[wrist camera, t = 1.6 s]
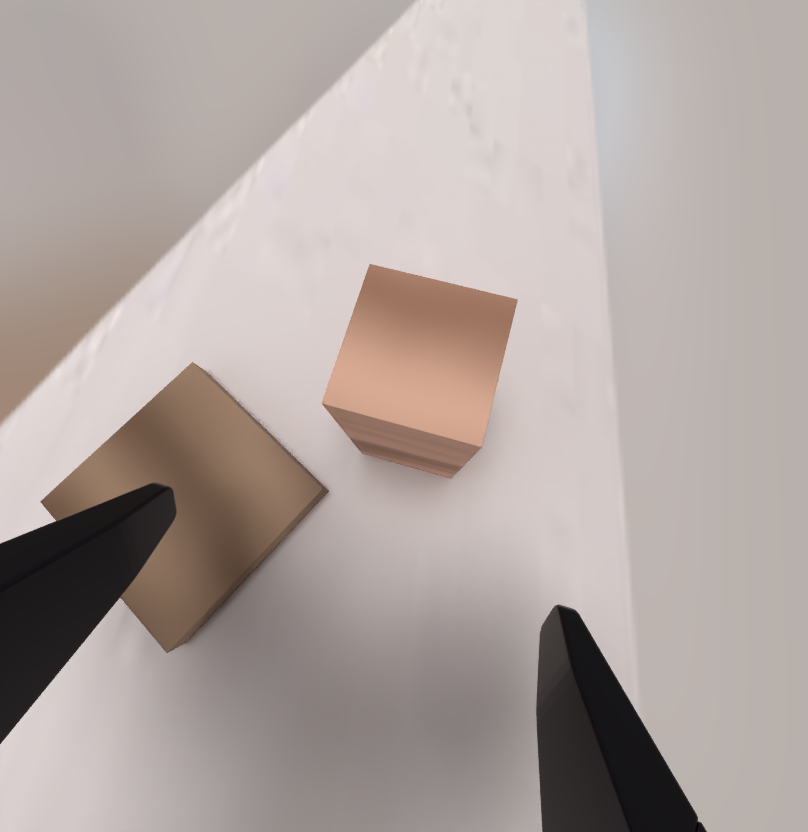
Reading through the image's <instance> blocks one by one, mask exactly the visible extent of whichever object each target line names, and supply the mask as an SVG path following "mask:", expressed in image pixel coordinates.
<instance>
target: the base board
mask: <svg viewBox="0 0 808 832" xmlns="http://www.w3.org/2000/svg"><path fill="white" fill-rule="evenodd" d="M154 482H157V483H161V484H164V485H168V486H170V487H172V489H173V491H174V496H175V502H176V508H177V513H176V517H175V520H174V521H173V523H172V525H171V526H170V528H169V529H168V531H167V532H166V534H165V535H164V537H163V538H162V540H161V541H160V543H159V544H158V546H157V547H156V549H155V550H154V552H153V553H152V555H151V556H150V557H149V559H148V560H147V562H146V563H145V565H144V566H143V568H142V569H141V571H140V572H139V574H138V575H137V577H136V578H135V579H134V581H133V582H132V583H131V584H130V586H129V587H128V588H127V589H126V591H125V592H124V593H123V594H122V596H121V597H120V598H121V599H122V600H123V601H124V602H125V603H126V605H127V606H128V607H129V608H130V609H131V611H132V612H133V613H134V614H135V615H136V617H137V618H138V619H139V620H140V621H141V623H142V624H143V625H144V626H145V627H146V629H147V630H148V631H149V632H150V633H151V635H152V636H153V637H154V638H155V639H156V640H157V642H158V643H159V644H160V645H161V646H162V648H163V649H164V650H165V651H166V652H167V653H168V652H170V651H172V650H174V649H175V648H177V647H179V646H181V645H183V644H184V643H186V642H187V641H188V639H189V638H190V637H191V636H192V635H193V634H194V633H195V632H196V631H197V630H198V629H199V628H200V627H201V626H202V625H203V624H204V623H205V621H206V620H207V619H208V618H209V617H210V616H211V615H212V614H213V613H214V612H215V611H216V610H217V609H218V608H219V607H220V606H221V604H222V603H223V602H224V601H225V600H226V599H227V598H228V597H229V596H230V595H231V594H232V593H233V592H234V591H235V590H236V589H237V588H238V586H239V585H240V584H241V583H242V582H243V581H244V580H245V579H246V578H247V577H248V576H249V575H250V574H251V573H252V572H253V571H254V570H255V568H256V567H257V566H258V565H259V564H260V563H261V562H262V561H263V560H264V559H265V558H266V557H267V556H268V555H269V554H270V553H271V551H272V550H273V549H274V548H275V547H276V546H277V545H278V544H279V543H280V542H281V541H282V540H283V539H284V538H285V537H286V536H287V535H288V533H289V532H290V531H291V530H292V529H293V528H294V527H295V526H296V525H297V524H298V523H299V522H300V521H301V520H302V519H303V518H304V517H305V515H306V514H307V513H308V512H309V511H310V510H311V509H312V508H313V507H314V506H315V505H316V504H317V503H318V502H319V501H320V500H321V499H322V497H323V496H324V495H325V494H326V493H327V492H328V490H327V489H326V488H325V487H324V486H323V485H322V484H321V483H320V482H319V481H318V480H317V479H316V478H315V477H314V476H313V475H312V474H311V473H310V472H309V471H308V470H307V469H306V468H305V467H304V466H303V465H302V464H301V463H300V462H299V461H297V460H296V459H295V458H294V457H293V456H292V455H291V454H290V453H289V452H288V451H287V450H286V449H285V448H284V447H283V446H282V445H281V444H280V443H279V442H278V441H277V440H276V439H275V438H274V437H273V436H272V435H271V434H270V433H269V432H268V431H267V430H266V429H265V428H264V427H263V426H262V425H261V424H259V423H258V422H257V421H256V420H255V419H254V418H253V417H252V416H251V415H250V414H249V413H248V412H247V411H246V410H245V409H244V408H243V407H242V406H241V405H240V404H239V403H238V402H237V401H236V400H235V399H234V398H233V397H232V396H231V395H230V394H229V393H228V392H227V391H226V390H225V389H224V388H223V387H221V386H220V385H219V384H218V383H217V382H216V381H215V380H214V379H213V378H212V377H211V376H210V375H209V374H208V373H207V372H206V371H205V370H203V369H202V368H200V367H199V366H197V365H196V364H195V363H193V362H192V363H191V364H190V365H189V366H188V367H187V368H186V369H184V370H183V371H182V372H181V373H180V374H179V375H178V376H177V377H176V378H175V379H174V380H172V381H171V382H170V383H169V384H168V385H167V386H166V387H165V388H164V389H163V390H162V391H160V392H159V393H158V394H157V395H156V396H155V397H154V398H153V399H152V400H151V401H150V402H148V403H147V404H146V405H145V406H144V407H143V408H142V409H141V410H140V411H139V412H138V413H136V414H135V415H134V416H133V417H132V418H131V419H130V420H129V421H128V422H127V423H126V424H124V425H123V426H122V427H121V428H120V429H119V430H118V431H117V432H116V433H115V434H114V435H112V436H111V437H110V438H109V439H108V440H107V441H106V442H105V443H104V444H103V445H102V446H100V447H99V448H98V449H97V450H96V451H95V452H94V453H93V454H92V455H91V456H90V457H88V458H87V459H86V460H85V461H84V462H83V463H82V464H81V465H80V466H79V467H78V468H76V469H75V470H74V471H73V472H72V473H71V474H70V475H69V476H68V477H67V478H66V479H64V480H63V481H62V482H61V483H60V484H59V485H58V486H57V487H56V488H55V489H54V490H52V491H51V492H50V493H49V494H48V495H47V496H46V497H45V498H44V499H43V500H42V501H40V502H41V503H42V504H43V506H44V507H45V508H46V509H47V510H48V512H49V513H50V514H51V515H52V516H53V517H54V519H55V520H56V521H58V520H60V519H63V518H65V517H68V516H70V515H73V514H75V513H78V512H80V511H83V510H85V509H88V508H90V507H93V506H95V505H98V504H100V503H103V502H105V501H108V500H110V499H113V498H115V497H118V496H120V495H123V494H125V493H127V492H130V491H132V490H135V489H137V488H140V487H142V486H145V485H147V484H150V483H154Z"/></svg>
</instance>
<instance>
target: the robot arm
mask: <svg viewBox="0 0 808 832" xmlns="http://www.w3.org/2000/svg"><path fill="white" fill-rule="evenodd" d="M176 513H177V508H176V502H175V496H174V491H173V489H172V487H170V486H168V485H164V484H161V483H157V482H154V483H150V484H147V485H145V486H142V487H140V488H137V489H135V490H132V491H130V492H127V493H125V494H123V495H120V496H118V497H115V498H113V499H110V500H108V501H105V502H103V503H100V504H98V505H95V506H93V507H90V508H88V509H85V510H83V511H80V512H78V513H75V514H73V515H70V516H68V517H65V518H63V519H60V520H58V521H55V522H53V523H50V524H48V525H45V526H43V527H40V528H38V529H35V530H33V531H30V532H28V533H26V534H23V535H21V536H18V537H16V538H13V539H11V540H8V541H6V542H3V543H1V544H0V744H1V743H2V741H3V740H4V739H5V738H6V737H7V735H8V734H9V733H10V732H11V730H12V729H13V728H14V727H15V726H16V724H17V723H18V722H19V721H20V719H21V718H22V717H23V716H24V714H25V713H26V712H27V711H28V710H29V708H30V707H31V706H32V705H33V703H34V702H35V701H36V700H37V699H38V697H39V696H40V695H41V694H42V692H43V691H44V690H45V689H46V688H47V686H48V685H49V684H50V683H51V681H52V680H53V679H54V678H55V676H56V675H57V674H58V673H59V672H60V670H61V669H62V668H63V667H64V665H65V664H66V663H67V662H68V661H69V659H70V658H71V657H72V656H73V654H74V653H75V652H76V651H77V650H78V648H79V647H80V646H81V645H82V643H83V642H84V641H85V640H86V638H87V637H88V636H89V635H90V634H91V632H92V631H93V630H94V629H95V627H96V626H97V625H98V624H99V623H100V621H101V620H102V619H103V618H104V616H105V615H106V614H107V613H108V612H109V610H110V609H111V608H112V607H113V605H114V604H115V603H116V602H117V600H118V599H119V598H120V597H121V596H122V594H123V593H124V592H125V591H126V589H127V588H128V587H129V586H130V584H131V583H132V582H133V581H134V579H135V578H136V577H137V575H138V574H139V572H140V571H141V569H142V568H143V566H144V565H145V563H146V562H147V560H148V559H149V557H150V556H151V555H152V553H153V552H154V550H155V549H156V547H157V546H158V544H159V543H160V541H161V540H162V538H163V537H164V535H165V534H166V532H167V531H168V529H169V528H170V526H171V525H172V523H173V521H174V520H175V517H176ZM536 716H537V738H538V757H539V775H540V794H541V813H542V831H543V832H707V831H706V830H705V828H704V826H703V825H702V823H701V822H698V817H697V815H696V813H695V811H694V810H693V808H692V806H691V805H690V803H689V801H688V799H687V798H686V796H685V794H684V792H683V791H682V789H681V787H680V786H679V784H678V782H677V780H676V779H675V777H674V776H673V774H672V772H671V770H670V769H669V767H668V765H667V763H666V762H665V760H664V759H663V757H662V755H661V753H660V752H659V750H658V748H657V746H656V745H655V743H654V741H653V740H652V738H651V736H650V734H649V733H648V731H647V729H646V728H645V726H644V724H643V722H642V721H641V719H640V717H639V716H638V714H637V712H636V711H635V709H634V707H633V705H632V704H631V702H630V700H629V699H628V697H627V695H626V694H625V692H624V690H623V688H622V687H621V685H620V683H619V682H618V680H617V678H616V676H615V675H614V673H613V671H612V670H611V668H610V666H609V665H608V663H607V661H606V659H605V658H604V656H603V654H602V653H601V651H600V649H599V647H598V646H597V644H596V642H595V641H594V639H593V637H592V636H591V634H590V632H589V630H588V629H587V627H586V625H585V624H584V622H583V620H582V619H581V617H580V615H579V614H578V612H577V611H576V610H574V609H572V608H569V607H566V606H562V605H556V606H554V608H553V609H552V611H551V612H550V614H549V615H548V617H547V618H546V620H545V621H544V623H543V625H542V627H541V631H540V643H539V663H538V682H537V705H536Z"/></svg>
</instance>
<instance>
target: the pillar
mask: <svg viewBox="0 0 808 832" xmlns="http://www.w3.org/2000/svg"><path fill="white" fill-rule="evenodd" d="M516 304H517V299H513V298H509V297H505V296H501V295H496V294H492V293H488V292H484V291H480V290H476V289H472V288H467V287H463V286H459V285H455V284H451V283H447V282H442V281H438V280H434V279H430V278H426V277H422V276H418V275H413V274H409V273H405V272H401V271H397V270H393V269H388V268H384V267H380V266H376V265H372V264H370V265H369V268H368V270H367V273H366V276H365V279H364V282H363V285H362V288H361V291H360V294H359V297H358V299H357V302H356V305H355V308H354V311H353V314H352V317H351V320H350V323H349V326H348V328H347V331H346V334H345V337H344V340H343V343H342V346H341V349H340V352H339V355H338V357H337V360H336V363H335V366H334V369H333V372H332V375H331V378H330V381H329V383H328V386H327V389H326V392H325V395H324V398H323V401H322V404H323V406H324V407H325V408H326V409H327V411H328V412H329V413H330V414H331V415H332V417H333V418H334V419H335V420H336V422H337V423H338V424H339V425H340V427H341V428H342V429H343V430H344V432H345V433H346V434H347V435H348V437H349V438H350V439H351V440H352V442H353V443H354V444H355V445H356V447H357V448H358V449H359V450H360V452H361V453H363V454H367V455H370V456H374V457H377V458H381V459H385V460H388V461H392V462H395V463H399V464H402V465H406V466H409V467H413V468H416V469H420V470H423V471H427V472H430V473H434V474H438V475H441V476H445V477H448V478H452V477H453V476H454V475H455V474H456V473H457V472H458V471H459V470H460V469H461V468H462V467H463V466H464V465H465V464H466V463H467V462H468V461H469V460H470V459H471V458H472V457H473V456H474V455H475V454H476V452H477V451H478V450H479V449H480V448H481V447H482V444H483V440H484V436H485V432H486V428H487V423H488V419H489V415H490V411H491V407H492V403H493V399H494V395H495V391H496V386H497V382H498V378H499V374H500V370H501V366H502V362H503V358H504V354H505V350H506V345H507V341H508V337H509V333H510V329H511V325H512V321H513V317H514V313H515V308H516Z"/></svg>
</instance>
